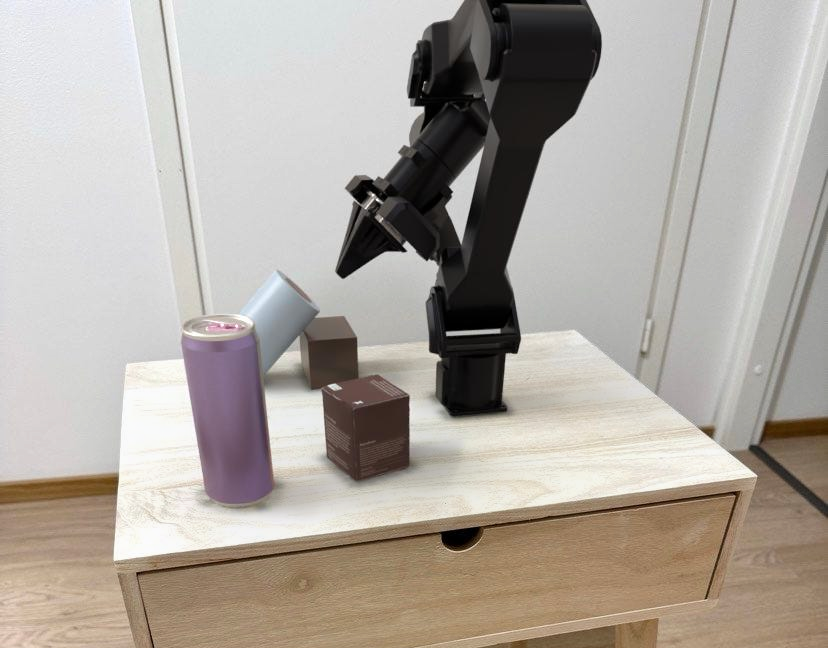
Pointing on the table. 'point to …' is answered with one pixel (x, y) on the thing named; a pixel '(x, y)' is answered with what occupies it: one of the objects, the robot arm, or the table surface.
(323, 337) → the walnut block
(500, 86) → the robot arm
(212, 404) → the beverage can
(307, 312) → the light blue cylinder
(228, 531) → the table surface
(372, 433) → the box
